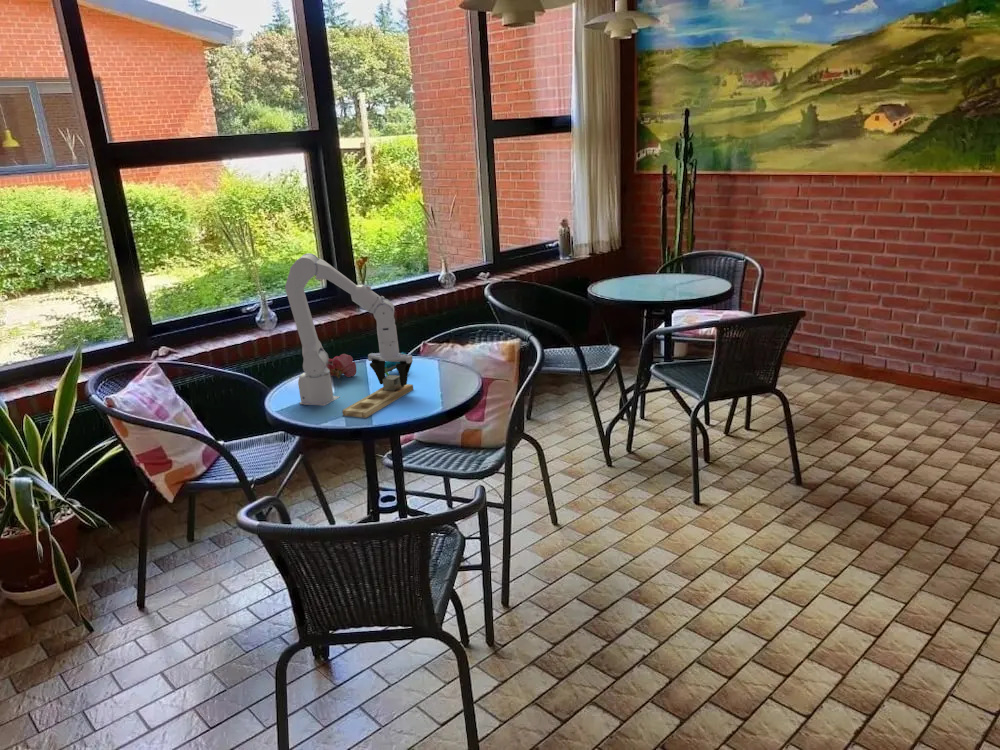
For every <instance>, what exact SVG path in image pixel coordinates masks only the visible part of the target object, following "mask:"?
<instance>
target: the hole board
mask: <svg viewBox="0 0 1000 750" xmlns="http://www.w3.org/2000/svg"><path fill="white" fill-rule="evenodd" d="M411 391H414V385H413V384H409V383H407V384H406V385H404V386H402V388H401V389H400V390H398V391H396V392H394V391H384V387H383V386H382V387H381V388H379V389H377V390H376V391H374V392H372V393H370V394H369V395H367V396H364V397H363V398H362V399H360V400H358V401H356V402H354V403H353V404H351V405H349V406H347V407H345V408H344V409H342V410H341V411H342V416H344V417H345V416H346V417H355V418H368V417H370V416H372V415H374V414H375V413H377V412H378V411H380V410H382V409H383V408H385V407H386V406H388V405H390V404H392V403H394V402H395V401H397V400H399V399H400V398H402V397H403V396H405V395H407V394H408V393H410V392H411Z"/></svg>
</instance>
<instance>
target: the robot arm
mask: <svg viewBox="0 0 1000 750" xmlns="http://www.w3.org/2000/svg"><path fill="white" fill-rule="evenodd" d="M314 276H316V277H315V280H327V281H329V282H330V283H332V284H334V285H335V286H337V287H338V288H340V289H342V290H343V291H344V292H346V293H348V294H349V295H350V297H351V301H352V302H354V303H355V304H356V305H358V306H360V307H361V308H362V309H363V310H365V311H367V312H368V313H370V314H373V318H374V320H375V321H376V334H377V340H378V341H377V342H378V350H379V352H376V353H375V352H374V353H373V352H371V353H369V354H367V358H368V361H369V362H370V363H369V366H370V368H371V370H373V372H374V373H375V375H376V378H377V380H378V382H379V384H380V385H383V378H385V377H386V373H385V362H386V361H391V362H400V363H399V364H397V365H396V367H397V369H396V370H397V371H398V376H400V383H401V386H404V385H406V384H408V383H407V382H408V377H409V372H410V370H411V366H412V364H413V362H414V361H413V360H414V359H413V355H411V354H407V353H406V354H407V355H406V354H401V352H400V347H399V340H398V332H397V325H396V319H395V306H394V304H393V302H391V300H390V299H388V298H385V296H383V295H381V296H380V295H379V294H377V293H376V292H375V291H373V290H372V287H371V286H370V285H367V286H366V285H365V284H356V283H354V282H353V280H351V279H350V278H348V277H347V276H346V275H344V274H343V273H341V272H340V271H339V270H338V269H336V268H335V267H334V266H332V265H331V264H330V263H328V262H327V261H326V260H324V259H323V258H319V257H318V256H317V255H316V254H314V253H305V254H302V255H301V256H300V257H299V258H297V259H296V260H295V261H294V263H293V264H292V265H291V266H290V268H289V273H288V276H287V279H286V281H285V284H284V290H285V293H286V295H287V296H286V297H287V299H288V303H289V306H290V310H291V313H292V317H293V319H294V323H295V327H296V330H297V333H298V337H299V340H300V343H301V349H302V351H301V353H302V358H303V362H302V370H303V371H304V372H303V373H301V375H299V378H298V381H297V382H298V384H297V385H298V390H299V396H300V397H299V398H300V402H299V405H304V406H305V405H306V406H311V405H313V406H321V407H322V406H326V405H328V404H329V403H332V402H333V401H336V400H337V399H339V398H340V396H337V395H334V390H333V385H332V377H330V370H329V369H328V368H327V366H326V365H327V363H328V360H329V354H328V353H327V352H326V350H325V349H324V347H323V346H322V342H321V341H320V340H319V337H318V334H317V331H316V327H315V323H314V320H313V317H312V313H311V310H310V307H309V303H308V299H307V296H306V292H305V287H306V286H307V284H308V283H309V281H310V280H311V279H313V277H314Z"/></svg>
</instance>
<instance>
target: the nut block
mask: <svg viewBox="0 0 1000 750" xmlns="http://www.w3.org/2000/svg"><path fill="white" fill-rule="evenodd" d="M382 385H383V386H382V387H384V391H394V392H396V391H398V390H400V389H401V388H402V386H401V383H400V376H399V375H392V374H389V376H387V375H386V376H385V378H383V384H382Z"/></svg>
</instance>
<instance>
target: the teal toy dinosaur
mask: <svg viewBox="0 0 1000 750" xmlns="http://www.w3.org/2000/svg"><path fill="white" fill-rule="evenodd" d="M400 353H401V354H406V355H408V354H407V353H406V352H404V351H402V352H400ZM399 363H400V362H391V361H385V376H386V377H387V376H389V375H390V373H389V371H391V372H393V370H395V369H396V370H397V367H396V365H397V364H399Z"/></svg>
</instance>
